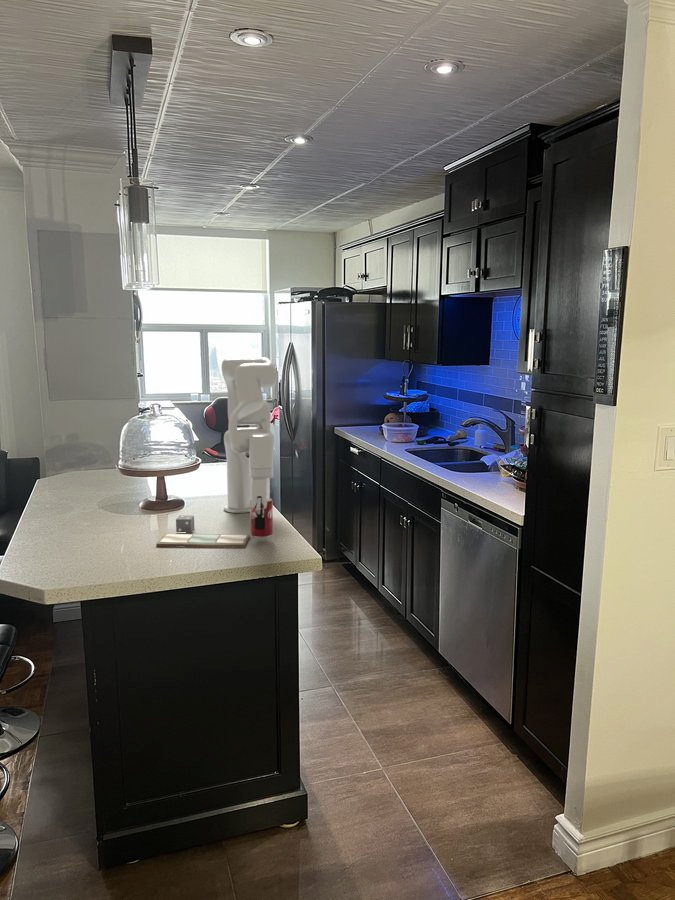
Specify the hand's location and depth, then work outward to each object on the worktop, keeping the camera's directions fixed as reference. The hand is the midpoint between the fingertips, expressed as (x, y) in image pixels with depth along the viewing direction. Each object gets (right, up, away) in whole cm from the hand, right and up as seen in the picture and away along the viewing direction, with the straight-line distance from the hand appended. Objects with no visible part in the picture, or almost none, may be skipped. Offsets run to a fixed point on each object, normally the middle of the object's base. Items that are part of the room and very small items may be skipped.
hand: (261, 524), depth 217 cm
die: (-28, -4, +13) cm, 31 cm away
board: (-19, -6, +1) cm, 20 cm away
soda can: (0, -4, +1) cm, 4 cm away
